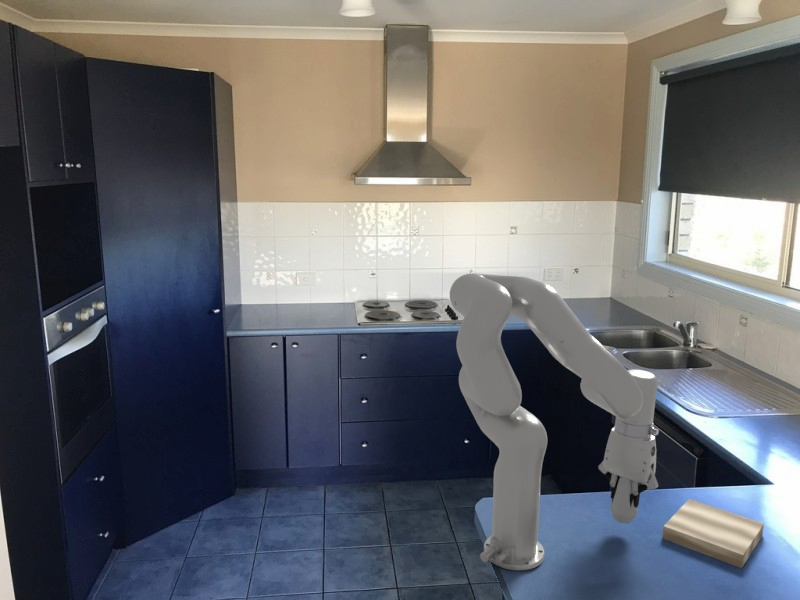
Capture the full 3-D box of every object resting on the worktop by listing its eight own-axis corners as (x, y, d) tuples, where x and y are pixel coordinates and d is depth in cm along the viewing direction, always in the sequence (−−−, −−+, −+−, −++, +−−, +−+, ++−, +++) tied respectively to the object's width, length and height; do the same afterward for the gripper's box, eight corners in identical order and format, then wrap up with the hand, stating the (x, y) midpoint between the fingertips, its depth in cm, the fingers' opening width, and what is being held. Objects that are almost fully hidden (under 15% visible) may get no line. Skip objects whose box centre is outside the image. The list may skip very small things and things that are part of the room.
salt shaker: (630, 512, 147) (637, 458, 144) (640, 525, 141) (647, 470, 139) (605, 511, 146) (611, 458, 144) (614, 525, 141) (620, 469, 138)
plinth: (741, 568, 132) (743, 555, 131) (662, 538, 142) (663, 525, 142) (762, 535, 143) (764, 523, 143) (687, 510, 154) (689, 498, 153)
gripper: (678, 434, 137) (667, 513, 141) (605, 412, 148) (596, 487, 151) (664, 443, 132) (654, 526, 135) (589, 420, 142) (581, 498, 146)
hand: (623, 504), depth 143 cm, fingers closed on salt shaker, 3 cm apart
